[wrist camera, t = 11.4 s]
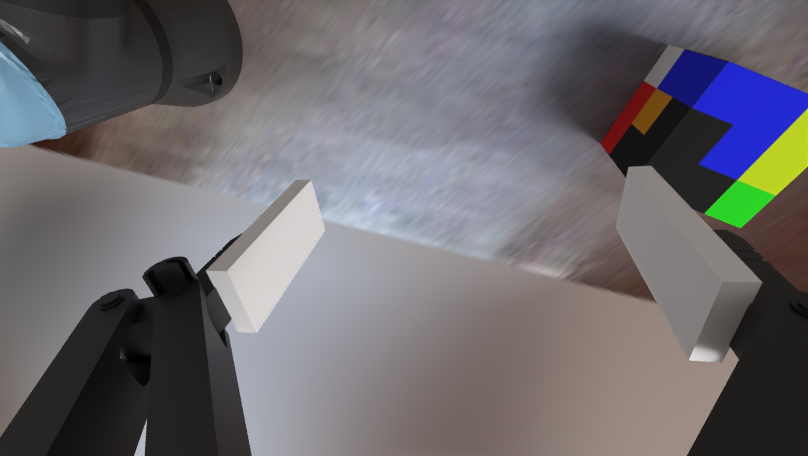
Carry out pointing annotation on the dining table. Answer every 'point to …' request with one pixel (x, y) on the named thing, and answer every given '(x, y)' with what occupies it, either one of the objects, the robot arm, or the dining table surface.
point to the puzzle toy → (713, 133)
